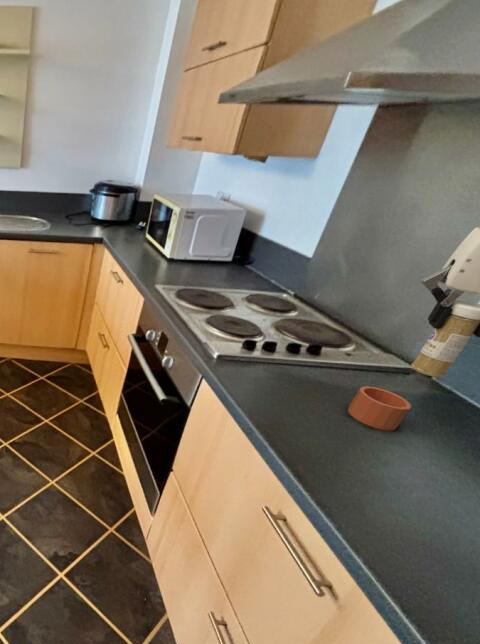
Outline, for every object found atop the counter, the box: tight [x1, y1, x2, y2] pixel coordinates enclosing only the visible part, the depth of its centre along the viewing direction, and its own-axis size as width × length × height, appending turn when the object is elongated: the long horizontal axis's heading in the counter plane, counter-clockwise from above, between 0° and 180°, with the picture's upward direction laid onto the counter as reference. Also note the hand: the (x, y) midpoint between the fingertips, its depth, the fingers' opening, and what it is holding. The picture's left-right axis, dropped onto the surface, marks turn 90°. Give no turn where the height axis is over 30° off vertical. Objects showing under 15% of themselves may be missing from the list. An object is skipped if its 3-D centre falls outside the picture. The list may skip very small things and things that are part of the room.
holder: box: [347, 385, 412, 432], centre depth 87 cm, size 8×8×6 cm
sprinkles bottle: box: [410, 299, 480, 378], centre depth 73 cm, size 5×5×14 cm
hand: (454, 329), depth 72 cm, fingers closed on sprinkles bottle, 4 cm apart
